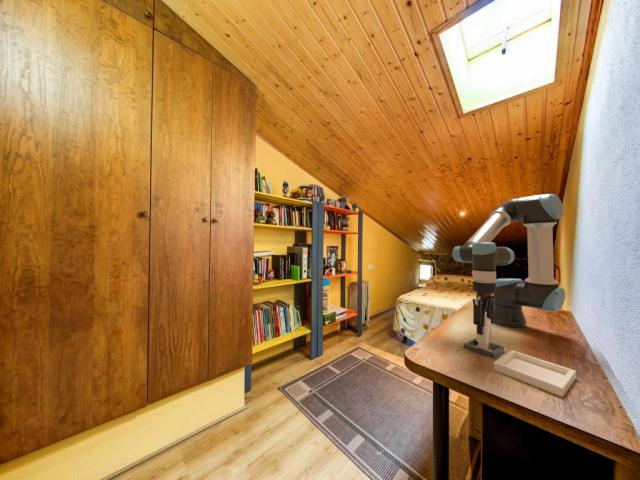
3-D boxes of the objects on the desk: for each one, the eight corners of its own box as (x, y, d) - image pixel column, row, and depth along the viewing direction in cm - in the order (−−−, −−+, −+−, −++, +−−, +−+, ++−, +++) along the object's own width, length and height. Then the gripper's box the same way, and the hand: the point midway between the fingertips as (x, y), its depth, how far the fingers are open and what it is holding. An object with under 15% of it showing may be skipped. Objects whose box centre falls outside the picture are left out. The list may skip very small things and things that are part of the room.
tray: (512, 356, 85) (512, 350, 85) (575, 378, 72) (575, 370, 72) (493, 369, 76) (493, 362, 76) (562, 397, 63) (562, 388, 63)
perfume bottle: (480, 352, 88) (480, 313, 88) (474, 347, 93) (474, 309, 93) (493, 353, 87) (493, 313, 88) (486, 347, 92) (486, 310, 92)
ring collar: (475, 342, 97) (475, 337, 97) (504, 351, 89) (504, 346, 89) (463, 348, 92) (463, 343, 92) (493, 359, 83) (493, 353, 83)
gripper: (483, 278, 98) (483, 332, 98) (462, 282, 89) (462, 342, 88) (504, 280, 92) (504, 339, 92) (484, 285, 82) (484, 350, 82)
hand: (483, 340), depth 90 cm, fingers closed on perfume bottle, 4 cm apart
